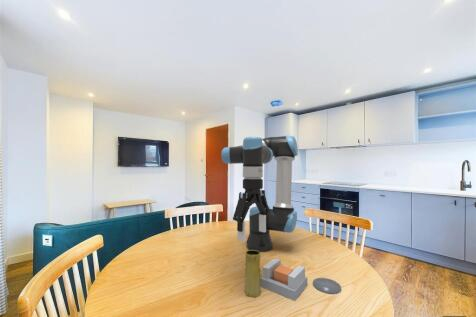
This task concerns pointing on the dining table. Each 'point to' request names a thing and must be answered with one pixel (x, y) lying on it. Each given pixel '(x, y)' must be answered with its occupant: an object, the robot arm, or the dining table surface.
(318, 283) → the coaster
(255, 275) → the vase
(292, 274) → the grey cradle holder
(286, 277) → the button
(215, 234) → the dining table surface
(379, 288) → the dining table surface
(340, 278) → the dining table surface
